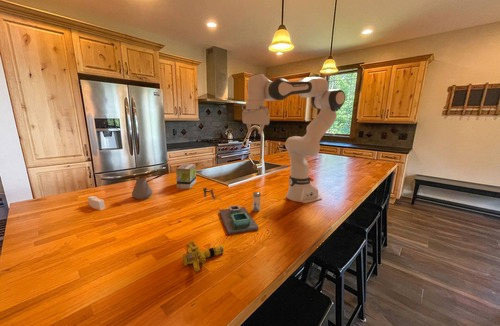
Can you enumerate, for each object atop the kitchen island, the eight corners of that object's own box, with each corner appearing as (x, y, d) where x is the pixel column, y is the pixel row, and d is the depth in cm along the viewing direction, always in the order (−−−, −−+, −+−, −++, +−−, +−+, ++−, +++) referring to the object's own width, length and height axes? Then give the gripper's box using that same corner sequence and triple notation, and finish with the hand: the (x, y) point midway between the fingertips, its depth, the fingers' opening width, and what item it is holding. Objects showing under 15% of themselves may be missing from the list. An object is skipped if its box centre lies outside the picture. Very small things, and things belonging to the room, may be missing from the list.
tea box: (190, 189, 143) (189, 168, 140) (176, 188, 143) (175, 168, 140) (196, 182, 158) (195, 163, 154) (183, 182, 158) (182, 163, 154)
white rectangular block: (108, 210, 109) (107, 200, 108) (81, 215, 104) (80, 204, 103) (110, 200, 122) (109, 191, 121) (87, 204, 117) (85, 194, 115)
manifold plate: (244, 209, 113) (244, 201, 112) (258, 229, 93) (258, 220, 92) (219, 212, 109) (219, 204, 108) (228, 234, 88) (228, 225, 87)
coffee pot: (130, 201, 120) (127, 177, 116) (133, 195, 130) (131, 172, 127) (169, 197, 127) (167, 174, 124) (169, 191, 138) (168, 169, 134)
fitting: (258, 208, 115) (259, 191, 113) (261, 211, 111) (261, 194, 109) (251, 209, 114) (252, 192, 111) (254, 212, 110) (254, 194, 108)
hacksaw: (203, 189, 144) (203, 187, 144) (218, 188, 147) (218, 186, 146) (204, 203, 121) (204, 200, 121) (221, 201, 124) (221, 199, 123)
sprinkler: (231, 253, 69) (186, 267, 62) (232, 265, 70) (187, 280, 62) (213, 233, 86) (175, 241, 79) (213, 242, 87) (176, 251, 79)
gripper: (273, 106, 101) (271, 134, 104) (249, 107, 118) (249, 131, 121) (263, 105, 98) (262, 134, 101) (240, 106, 114) (240, 131, 117)
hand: (254, 132), depth 111 cm, fingers open, 8 cm apart
